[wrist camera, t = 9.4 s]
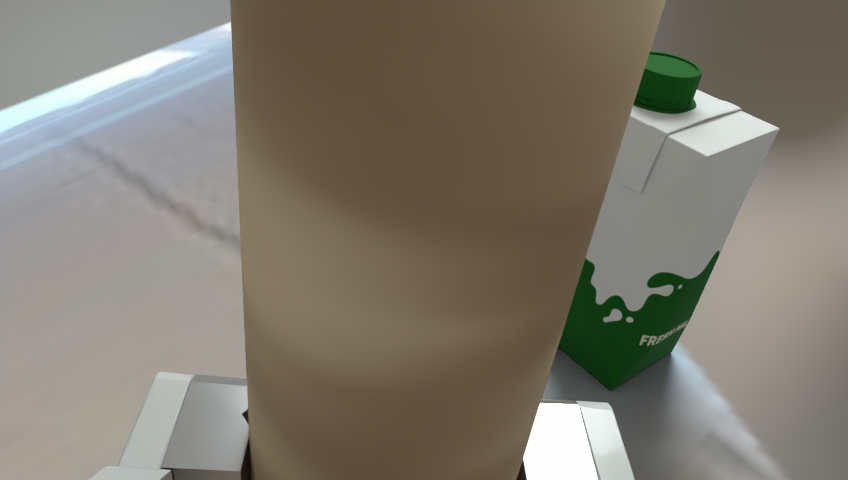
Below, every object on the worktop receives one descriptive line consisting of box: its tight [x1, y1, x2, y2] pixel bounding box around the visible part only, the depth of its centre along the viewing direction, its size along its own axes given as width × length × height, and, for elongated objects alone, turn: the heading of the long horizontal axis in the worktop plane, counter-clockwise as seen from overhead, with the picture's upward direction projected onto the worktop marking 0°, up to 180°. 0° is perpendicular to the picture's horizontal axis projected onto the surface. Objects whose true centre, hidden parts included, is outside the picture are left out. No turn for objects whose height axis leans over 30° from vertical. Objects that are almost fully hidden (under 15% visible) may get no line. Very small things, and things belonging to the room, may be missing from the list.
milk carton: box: [558, 51, 779, 391], centre depth 44 cm, size 9×9×20 cm
